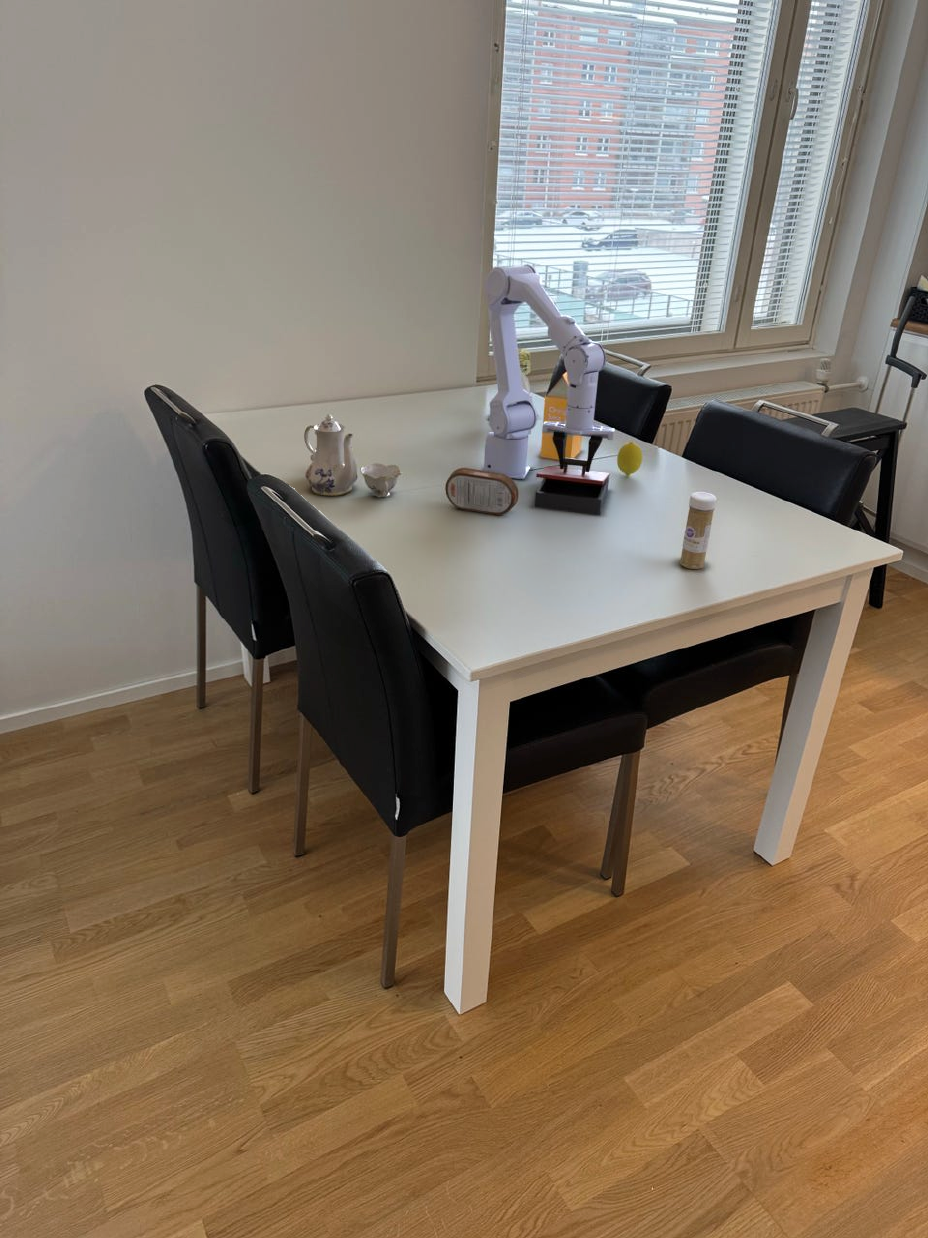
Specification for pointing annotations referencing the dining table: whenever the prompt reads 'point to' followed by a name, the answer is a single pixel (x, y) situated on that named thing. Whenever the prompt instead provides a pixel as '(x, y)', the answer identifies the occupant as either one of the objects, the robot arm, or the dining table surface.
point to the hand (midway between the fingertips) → (574, 469)
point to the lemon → (629, 458)
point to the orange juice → (557, 413)
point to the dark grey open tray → (571, 496)
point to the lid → (574, 473)
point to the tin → (481, 491)
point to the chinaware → (342, 464)
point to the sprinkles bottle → (697, 530)
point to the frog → (524, 365)
